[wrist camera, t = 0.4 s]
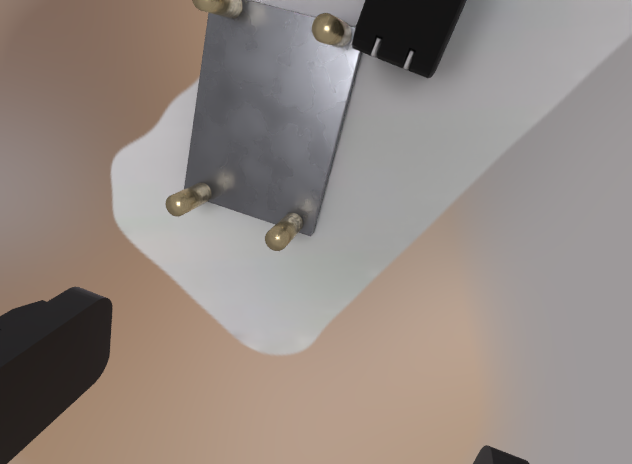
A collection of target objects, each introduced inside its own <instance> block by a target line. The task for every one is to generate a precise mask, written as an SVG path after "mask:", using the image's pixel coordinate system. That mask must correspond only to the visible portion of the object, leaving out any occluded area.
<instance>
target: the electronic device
mask: <svg viewBox="0 0 632 464" xmlns="http://www.w3.org/2000/svg"><path fill="white" fill-rule="evenodd" d="M466 1H467V0H365V3H364V6H363V9H362V11H361V14H360V17H359V20H358V23H357V25H356V29H355V32H354V36H353V42H352V48H353V49H355V50H358V51H360V52H363V53H365V54H368V55H370V56H373V57H377V58H378V59H381V60H383V61H386V62H388V63H391V64H393V65H396V66H398V67H401V68H404V69H406V70H409V71H411V72H414V73H416V74H419V75H421V76H424V77H426V78H430V77H432V75H433V74H434V73H435V71H436V69H437V67H438V64H439V62H440V60H441V58H442V55H443V53H444V51H445V48H446V46H447V44H448V42H449V39H450V37H451V35H452V32H453V30H454V28H455V26H456V23H457V21H458V19H459V17H460V14H461V12H462V10H463V7H464V5H465V3H466Z"/></svg>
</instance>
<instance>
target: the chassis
mask: <svg viewBox="0 0 632 464" xmlns="http://www.w3.org/2000/svg"><path fill="white" fill-rule="evenodd" d="M192 1H193V3H194V5H195V7H196V8H198V9H199V10H201V11H205V12H208V13H209V14H208V22H207V29H206V37H205V43H204V50H203V57H202V65H201V72H200V79H199V86H198V93H197V100H196V107H195V115H194V122H193V129H192V136H191V143H190V151H189V158H188V165H187V172H186V179H185V186H184V190H182V191H180V192H178V193H175V194H173V195H171V196H169V197H168V198H167V200H166V208H167V210H168V212H169V213H170V214H172V215H173V216H181V215H183V214H185V213H187V212H189V211H191V210H192V209H194V208H196V207H198V206H200V205H202V204H203V203H205V202H210V203H213V204H216V205H219V206H222V207H225V208H228V209H231V210H234V211H237V212H240V213H243V214H246V215H249V216H252V217H255V218H258V219H261V220H264V221H267V222H270V223H273V224H276V225H275V226H274V227H273V228H272V229H271V230H269V231H268V232H267V234H266V236H265V242H266V244H267V246H268V247H269V248H270V249H272V250H274V251H280V250H283V249H284V248H285V247H286V246H287V245H288V243H289V242H290V241H291V240H292V239H293V238H294V237H295V236H296V234H297V233H298V232H299V233H302V234H305V235H308V236H311V235H312V234H313V233H314V230H315V226H316V222H317V218H318V215H319V211H320V207H321V203H322V200H323V196H324V192H325V188H326V185H327V181H328V177H329V173H330V170H331V166H332V162H333V158H334V155H335V151H336V147H337V143H338V140H339V136H340V132H341V128H342V125H343V121H344V117H345V113H346V110H347V106H348V102H349V98H350V95H351V91H352V87H353V83H354V80H355V76H356V72H357V68H358V65H359V61H360V57H361V53H362V52H360V51H358V50H355V49H353V48H352V42H353V36H354V32H355V29H356V28H354V27H350V26H349V25H348V24H347V23H346V22H344V21H342V20H340V19H338V18H337V17H335V16H333V15H331V14H328V13H323V14H320V15H318V16H317V17H316V18H315V17H312V16H308V15H304V14H300V13H296V12H292V11H289V10H285V9H281V8H277V7H273V6H269V5H266V4H262V3H258V2H254V1H250V0H192Z"/></svg>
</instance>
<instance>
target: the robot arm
mask: <svg viewBox="0 0 632 464" xmlns="http://www.w3.org/2000/svg"><path fill="white" fill-rule="evenodd" d="M111 322H112V303H111V301H110V299H108V298H106V297H103V296H100V295H98V294H95V293H93V292H90V291H87V290H85V289H82V288H80V287H72V288H70V289H68V290H66V291H64V292H63V293H61V294H59V295H58V296H56V297H55V298H53V299H51V300H49V301H48V302H46V301H43V300H41V301H38V302H35V303H31V304H28V305H25V306H21V307H18V308H15V309H12V310H10V311H9V312H7V313H5V314H4V315H2V316H0V464H7V463H8V462H9V461H10V460H12V459H13V458H14V457H15V456H16V455H17V454H18V453H19V452H20V451H21V450H23V449H24V448H25V447H26V446H27V445H28V444H29V443H30V442H31V441H32V440H33V439H34V438H36V436H38V435H39V434H40V433H41V432H42V431H43V430H44V429H45V428H46V427H47V426H49V425H50V424H51V423H52V422H53V421H54V420H55V419H56V418H57V417H58V416H59V415H60V414H61V413H63V412H64V411H65V410H66V409H67V408H68V407H69V406H70V405H71V404H72V403H74V402H75V401H76V400H77V399H78V398H79V397H80V396H81V395H82V394H83V393H84V392H85V391H87V390H88V389H89V388H90V387H91V386H92V385H93V384H94V383H95V382H96V381H97V379H98V378H99V377H100V376H101V374H102V373H103V371H104V369H105V367H106V365H107V362H108V359H109V354H110V338H111ZM473 464H529V463H528V461H526V460H524V459H521V458H519V457H516V456H513V455H511V454H508V453H506V452H503V451H500V450H498V449H495V448H493V447H490V446H484V447H483V448H482V449H481V450H480V452H479V454H478V456H477V457H476V459H475V461H474V463H473Z"/></svg>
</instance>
